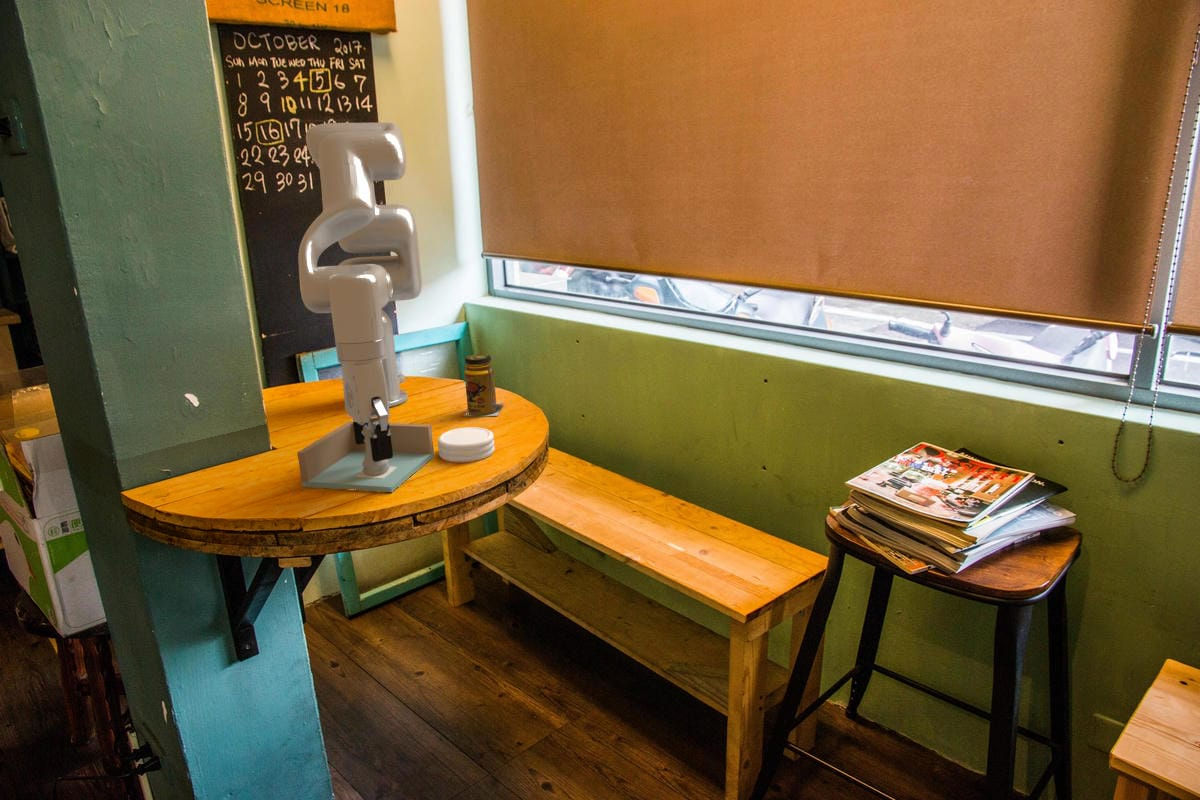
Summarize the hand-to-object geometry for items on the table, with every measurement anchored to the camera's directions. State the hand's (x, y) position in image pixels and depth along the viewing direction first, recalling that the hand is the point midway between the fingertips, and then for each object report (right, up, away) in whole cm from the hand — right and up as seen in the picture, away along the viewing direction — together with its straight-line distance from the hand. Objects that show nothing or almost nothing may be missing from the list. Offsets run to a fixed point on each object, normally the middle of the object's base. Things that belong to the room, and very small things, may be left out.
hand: (374, 450), depth 128 cm
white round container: (+13, -1, +12) cm, 18 cm away
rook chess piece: (0, -4, +1) cm, 4 cm away
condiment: (+13, +6, +35) cm, 38 cm away
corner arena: (-2, -4, +4) cm, 6 cm away
